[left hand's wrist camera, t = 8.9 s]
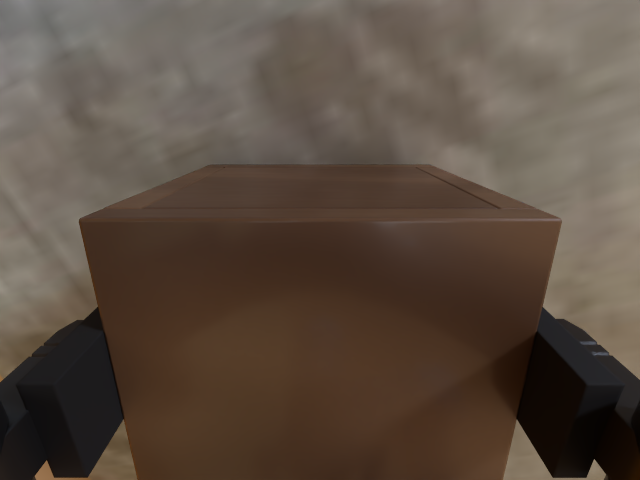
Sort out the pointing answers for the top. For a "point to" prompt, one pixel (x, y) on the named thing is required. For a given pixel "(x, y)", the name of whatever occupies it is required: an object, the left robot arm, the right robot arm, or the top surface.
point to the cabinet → (320, 321)
